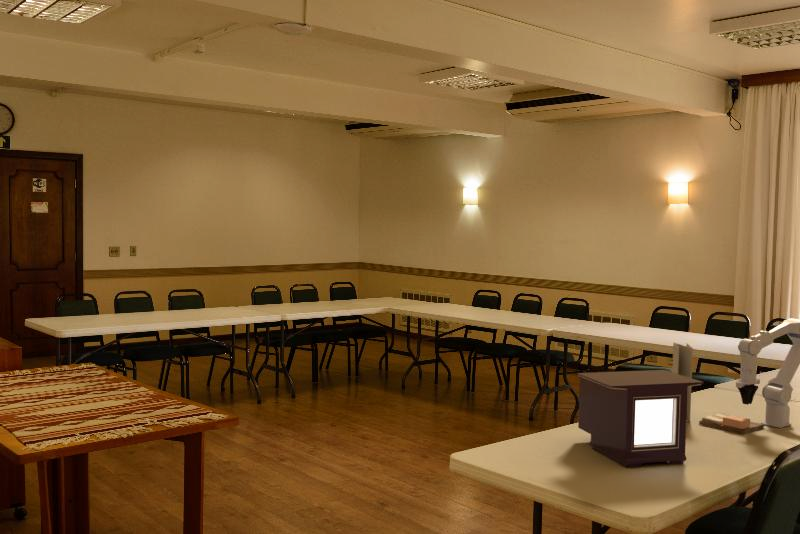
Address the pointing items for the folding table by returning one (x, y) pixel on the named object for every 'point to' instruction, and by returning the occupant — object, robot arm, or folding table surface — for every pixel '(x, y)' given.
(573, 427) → the folding table surface
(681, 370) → the brochure
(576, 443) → the folding table surface
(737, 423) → the orange rectangular block
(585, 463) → the folding table surface
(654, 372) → the brown box television
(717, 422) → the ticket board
